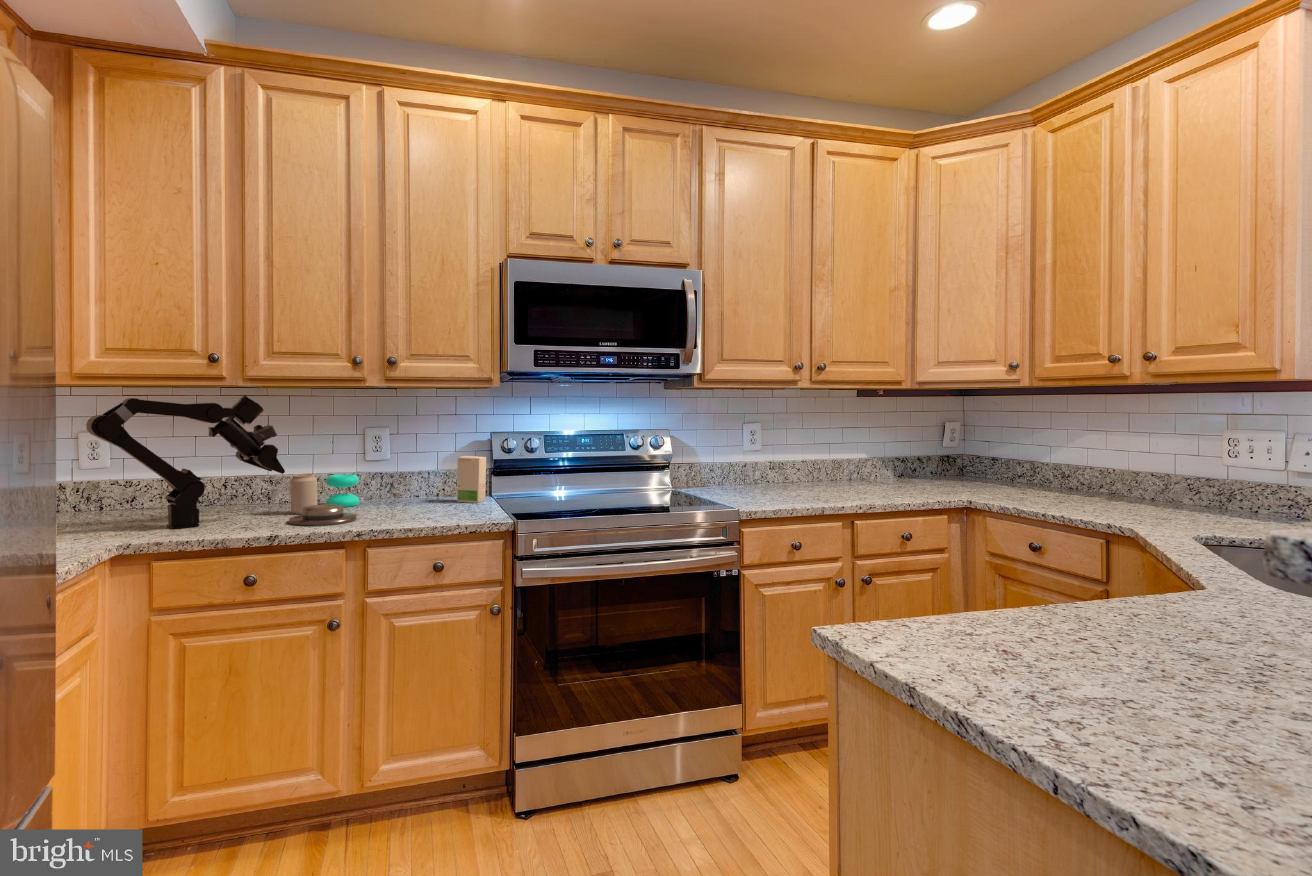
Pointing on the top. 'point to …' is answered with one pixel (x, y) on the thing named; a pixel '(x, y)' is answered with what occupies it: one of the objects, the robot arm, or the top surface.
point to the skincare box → (471, 479)
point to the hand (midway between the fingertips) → (277, 471)
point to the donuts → (343, 481)
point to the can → (303, 492)
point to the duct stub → (322, 516)
